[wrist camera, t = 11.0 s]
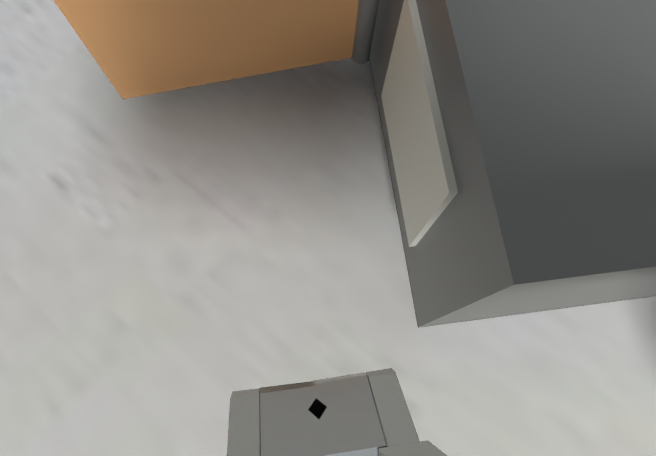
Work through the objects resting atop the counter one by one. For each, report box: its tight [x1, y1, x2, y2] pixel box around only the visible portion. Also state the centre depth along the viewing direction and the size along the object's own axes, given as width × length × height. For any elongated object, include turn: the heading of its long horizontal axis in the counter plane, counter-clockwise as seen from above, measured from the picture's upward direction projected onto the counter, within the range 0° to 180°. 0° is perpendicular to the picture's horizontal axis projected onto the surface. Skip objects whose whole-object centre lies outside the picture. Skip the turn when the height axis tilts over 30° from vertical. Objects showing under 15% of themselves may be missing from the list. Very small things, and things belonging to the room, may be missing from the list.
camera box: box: [369, 0, 656, 327], centre depth 21 cm, size 12×18×12 cm
